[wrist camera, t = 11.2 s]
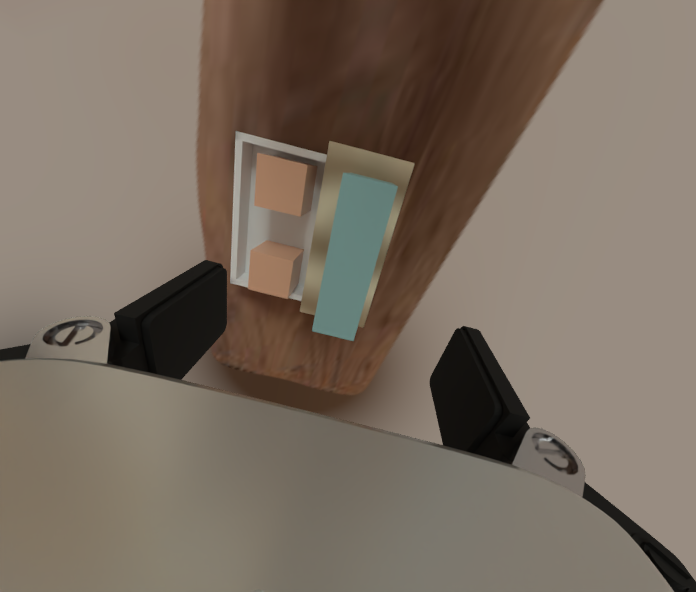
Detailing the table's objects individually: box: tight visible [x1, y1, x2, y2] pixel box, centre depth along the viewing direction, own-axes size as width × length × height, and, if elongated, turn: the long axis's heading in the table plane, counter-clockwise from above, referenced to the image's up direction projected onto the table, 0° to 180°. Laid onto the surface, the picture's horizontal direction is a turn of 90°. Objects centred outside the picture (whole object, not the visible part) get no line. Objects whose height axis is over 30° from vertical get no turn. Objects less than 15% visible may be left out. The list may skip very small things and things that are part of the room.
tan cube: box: [254, 153, 318, 217], centre depth 23 cm, size 4×4×4 cm
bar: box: [312, 173, 398, 341], centre depth 21 cm, size 12×4×6 cm, turn 167°
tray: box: [230, 131, 327, 301], centre depth 26 cm, size 14×8×2 cm, turn 167°
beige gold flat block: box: [300, 141, 415, 328], centre depth 26 cm, size 16×7×3 cm, turn 167°
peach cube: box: [248, 240, 304, 299], centre depth 26 cm, size 4×4×4 cm
